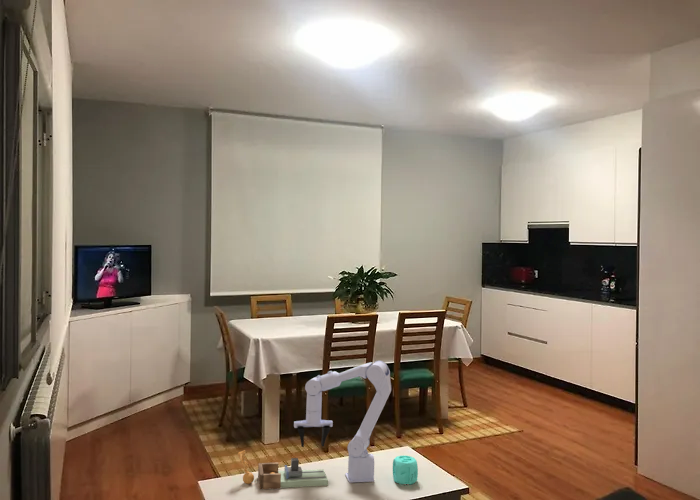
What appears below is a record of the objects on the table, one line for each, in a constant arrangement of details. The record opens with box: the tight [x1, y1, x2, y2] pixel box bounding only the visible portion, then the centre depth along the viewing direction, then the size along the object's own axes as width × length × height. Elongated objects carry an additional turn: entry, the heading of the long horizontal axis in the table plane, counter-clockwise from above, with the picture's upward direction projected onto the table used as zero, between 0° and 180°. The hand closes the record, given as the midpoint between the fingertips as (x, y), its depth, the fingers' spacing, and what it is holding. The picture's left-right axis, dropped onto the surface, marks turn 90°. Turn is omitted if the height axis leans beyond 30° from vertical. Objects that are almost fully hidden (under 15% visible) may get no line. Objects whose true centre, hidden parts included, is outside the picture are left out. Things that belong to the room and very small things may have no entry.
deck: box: [278, 468, 329, 489], centre depth 213 cm, size 17×10×2 cm, turn 102°
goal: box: [257, 461, 281, 491], centre depth 211 cm, size 7×11×5 cm, turn 12°
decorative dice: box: [392, 455, 419, 485], centre depth 217 cm, size 8×8×8 cm
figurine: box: [237, 449, 255, 485], centre depth 209 cm, size 8×6×12 cm
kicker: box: [283, 457, 303, 479], centre depth 213 cm, size 6×7×6 cm
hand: (312, 445), depth 222 cm, fingers open, 7 cm apart
